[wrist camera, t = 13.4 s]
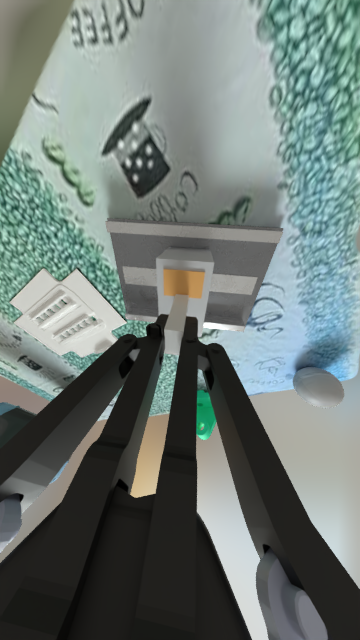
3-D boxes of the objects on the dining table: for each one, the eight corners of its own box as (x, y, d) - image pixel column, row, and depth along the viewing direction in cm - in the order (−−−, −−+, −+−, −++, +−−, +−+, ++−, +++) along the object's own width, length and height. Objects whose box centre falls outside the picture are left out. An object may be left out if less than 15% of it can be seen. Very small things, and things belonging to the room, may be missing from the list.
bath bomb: (283, 380, 37) (301, 414, 31) (289, 360, 33) (311, 394, 26) (319, 380, 36) (346, 415, 29) (331, 358, 31) (365, 395, 25)
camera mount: (214, 388, 43) (218, 428, 35) (221, 400, 47) (225, 439, 39) (178, 392, 47) (174, 429, 38) (187, 403, 51) (184, 439, 42)
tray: (3, 310, 36) (-15, 319, 32) (68, 248, 26) (51, 251, 23) (72, 360, 45) (63, 370, 42) (139, 327, 35) (134, 337, 32)
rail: (128, 310, 30) (121, 319, 27) (110, 218, 21) (97, 217, 18) (244, 322, 28) (248, 333, 26) (279, 228, 19) (293, 229, 17)
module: (169, 305, 27) (159, 333, 20) (169, 246, 21) (155, 258, 15) (201, 308, 27) (201, 337, 20) (209, 249, 21) (214, 263, 14)
